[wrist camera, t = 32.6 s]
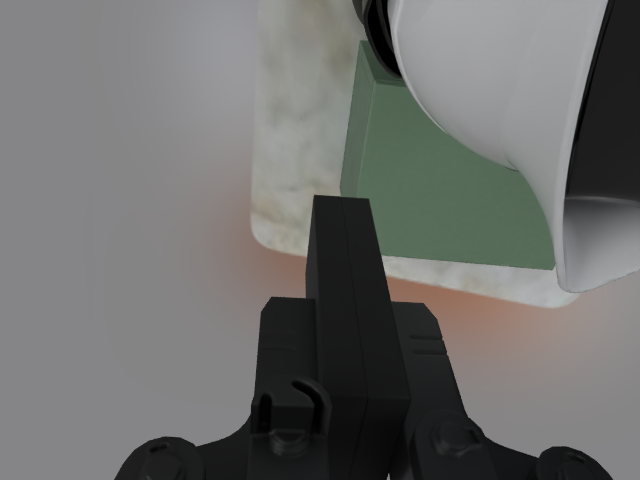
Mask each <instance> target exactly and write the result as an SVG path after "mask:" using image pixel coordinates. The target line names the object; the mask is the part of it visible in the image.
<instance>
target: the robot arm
mask: <svg viewBox="0 0 640 480" xmlns="http://www.w3.org/2000/svg"><path fill="white" fill-rule="evenodd" d="M388 473H389V475H390V480H613V479H612V478H611V476H610V475H609V474H608V472H607V471H606V470H605V469H603V467H602V466H601V465H600V464H599V463H598V462H597V461H595V460H594V459H593V458H591V457H590V456H588V455H586V454H585V453H583V452H582V451H579V450H576V449H572V448H569V447H565V446H562V447H551V448H549V449H547V450H545V451H543V452H542V453H541V455H540V457H539V458H537V457H534V456H531V455H527V454H525V453H522V452H519V451H515V450H513V449H509V448H506V447H504V446H502V445H499V444H497V443H495V442H493V441H492V440H490V439H489V438H487V437H485V435H484V433H483V431H482V429H481V428H480V427H479V426H477V424H476V423H474V422H473V421H472V420H471V419H470V418H468V416H467V414H466V412H465V409H464V406H463V403H462V399H461V396H460V393H459V389H458V386H457V383H456V380H455V377H454V373H453V370H452V367H451V363H450V360H449V357H448V355H447V350H446V347H445V344H444V341H442V334H441V331H440V328H439V324H438V321H437V319H436V318H435V316H434V315H433V314H432V313H431V312H430V310H429V309H428V308H427V307H426V306H425V304H424V303H411V302H392V301H391V300H390V294H389V290H388V285H387V280H386V276H385V271H384V266H383V262H382V257H381V252H380V248H379V243H378V238H377V234H376V229H375V224H374V220H373V215H372V210H371V206H370V201H369V199H368V198H353V197H339V196H324V195H314V199H313V208H312V217H311V227H310V236H309V246H308V255H307V264H306V298H286V297H271V298H270V300H269V301H268V302H267V304H266V305H265V307H264V308H263V310H262V311H261V319H260V332H259V343H258V355H257V368H256V381H255V391H254V397H253V400H252V404H251V414H250V416H249V418H248V420H247V421H246V423H245V424H244V425H243V426H242V427H241V428H240V429H239V430H238V431H236V432H235V433H233V434H232V435H230V436H229V437H226V438H224V439H221V440H218V441H215V442H211V443H208V444H204V445H201V446H197V447H196V446H195V445H194V444H193V443H191V442H189V441H187V440H184V439H182V438H179V437H161V438H158V439H154V440H150V441H148V442H146V443H144V444H143V445H141V446H140V447H138V448H137V449H135V450H134V451H133V452H132V453H131V455H130V456H129V457H128V458H127V460H126V461H125V462H124V463H123V465H122V467H121V468H120V470H119V472H118V474H117V476H116V477H115V479H114V480H387V477H388Z"/></svg>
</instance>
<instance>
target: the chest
mask: <svg viewBox="0 0 640 480" xmlns="http://www.w3.org/2000/svg"><path fill="white" fill-rule="evenodd" d="M375 80H381V81H390V82H400V83H405V81H404V79H403V78H402V79H397V78H395V77H393V76H391V75H390V74H388V73H387V72H386V71H385V70H384V68H383V67H382V66H381V65H380V63H379V62H378V60H377V58H376V57H375V55H374V53H373V51H372V49H371V46H370V44H369V41H362V40H361V41H360V44H359V51H358V59H357V66H356V73H355V80H354V88H353V95H352V102H351V109H350V117H349V124H348V131H347V138H346V146H345V153H344V160H343V167H342V174H341V182H340V192H341V197H353V198H356V191H357V185H358V179H359V173H360V166H361V160H362V154H363V148H364V141H365V135H366V129H367V123H368V116H369V110H370V104H371V98H372V91H373V85H374V81H375Z"/></svg>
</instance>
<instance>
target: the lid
mask: <svg viewBox="0 0 640 480" xmlns="http://www.w3.org/2000/svg"><path fill="white" fill-rule="evenodd" d="M356 198H368V199H369V201H370V206H371V210H372V215H373V220H374V224H375V229H376V234H377V238H378V243H379V248H380V252H381V255H385V256H396V257H407V258H419V259H430V260H441V261H453V262H464V263H475V264H487V265H498V266H509V267H521V268H532V269H543V270H553V268H554V266H555V257H554V251H553V246H552V241H551V237H550V233H549V229H548V226H547V223H546V220H545V217H544V214H543V212H542V209H541V207H540V204H539V202H538V200H537V198H536V196H535V194H534V193H533V191H532V189H531V188H530V186H529V185H528V183H527V181H526V180H525V179H524V178H523V176H522V175H521V174H520V173H519V172H517V171H513V170H510V169H507V168H505V167H503V166H501V165H498V164H495V163H493V162H491V161H489V160H486V159H484V158H483V157H481V156H479V155H477V154H475V153H473V152H472V151H470V150H469V149H467V148H465V147H464V146H463V145H461V144H460V143H458V142H457V141H456V140H455V139H453V138H452V137H451V136H449V135H448V134H447V133H445V132H444V131H443V130H441V129H440V128H439V127H438V126H437V125H436V124H435V123H434V122H433V121H432V120H431V119H430V118H429V117H428V116H427V115H426V113H425V112H424V111H423V110H422V109H421V107H420V106H419V105H418V103H417V102H416V100H415V99H414V98H413V96H412V94H411V93H410V91H409V89H408V87H407V85H406V83H400V82H390V81H381V80H375V81H374V85H373V91H372V98H371V104H370V110H369V116H368V123H367V129H366V135H365V141H364V148H363V154H362V160H361V166H360V173H359V179H358V185H357V191H356Z"/></svg>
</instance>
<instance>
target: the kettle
mask: <svg viewBox="0 0 640 480" xmlns="http://www.w3.org/2000/svg"><path fill="white" fill-rule="evenodd" d="M352 2H353V5H354V8H355V11H356V13H357V16H358V18H359V20H360V21H361V23H362V24H363V25H364V28H365V32H366V35H367V38H368V41H369V44H370V46H371V49H372V51H373V53H374V55H375V57H376V58H377V60H378V62H379V63H380V65H381V66H382V67H383V68H384V70H385V71H386V72H387V73H388V74H390V75H391V76H393V77H395V78H397V79H402V78H403V79H404V81H405V83H406V85H407V87H408V89H409V91H410V93H411V94H412V96H413V98H414V99H415V100H416V102H417V103H418V105H419V106H420V107H421V109H422V110H423V111H424V112H425V113H426V115H427V116H428V117H429V118H430V119H431V120H432V121H433V122H434V123H435V124H436V125H437V126H438V127H439V128H440V129H441V130H443V131H444V132H445V133H447V134H448V135H449V136H451V137H452V138H453V139H455V140H456V141H457V142H458V143H460V144H461V145H463V146H464V147H465V148H467V149H469V150H470V151H472V152H473V153H475V154H477V155H479V156H481V157H483V158H484V159H486V160H489V161H491V162H493V163H495V164H498V165H501V166H503V167H505V168H507V169H510V170H513V171H517V172H519V173H520V174H521V175H522V176H523V178H524V179H525V180H526V181H527V183H528V185H529V186H530V188H531V189H532V191H533V193H534V194H535V196H536V198H537V200H538V202H539V204H540V207H541V209H542V212H543V214H544V217H545V220H546V223H547V226H548V229H549V233H550V237H551V241H552V246H553V251H554V257H555V264H556V271H557V279H558V284H559V286H560V288H561V289H563V290H564V291H566V292H570V293H582V292H587V291H591V290H593V289H595V288H598V287H600V286H602V285H605V284H608V283H610V282H613V281H615V280H617V279H620V278H622V277H625V276H627V275H629V274H631V273H634V272H636V271H638V270H640V0H352Z"/></svg>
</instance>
